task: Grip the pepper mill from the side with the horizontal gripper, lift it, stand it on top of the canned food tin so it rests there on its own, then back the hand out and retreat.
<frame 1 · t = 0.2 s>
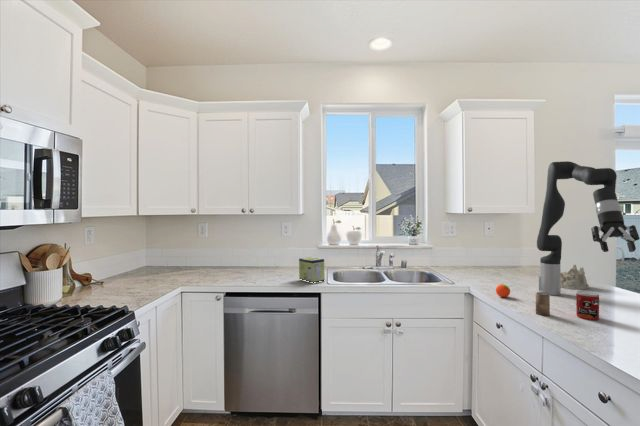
hand: (619, 251, 125), 31 cm above the worktop, tool tilted 20°, fingers open, 8 cm apart
canned food: (587, 318, 140), on the worktop
clementine: (503, 297, 174), on the worktop
beige irregular lump: (570, 287, 196), on the worktop
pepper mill: (542, 314, 145), on the worktop
protein box: (311, 281, 219), on the worktop
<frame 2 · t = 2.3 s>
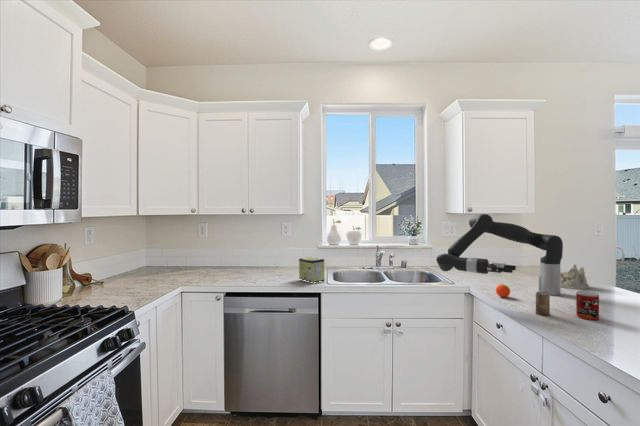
hand: (514, 269, 152), 19 cm above the worktop, tool horizontal, fingers open, 8 cm apart
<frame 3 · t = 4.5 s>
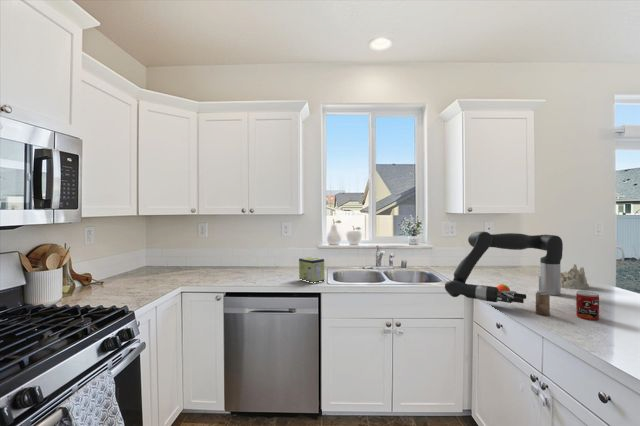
hand: (524, 298, 149), 6 cm above the worktop, tool horizontal, fingers open, 8 cm apart
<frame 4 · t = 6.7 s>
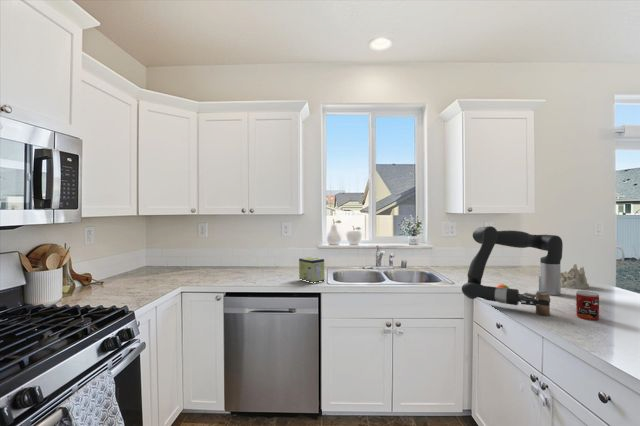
hand: (549, 301, 143), 6 cm above the worktop, tool horizontal, fingers closed on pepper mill, 5 cm apart
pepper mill: (542, 314, 145), on the worktop, touching gripper
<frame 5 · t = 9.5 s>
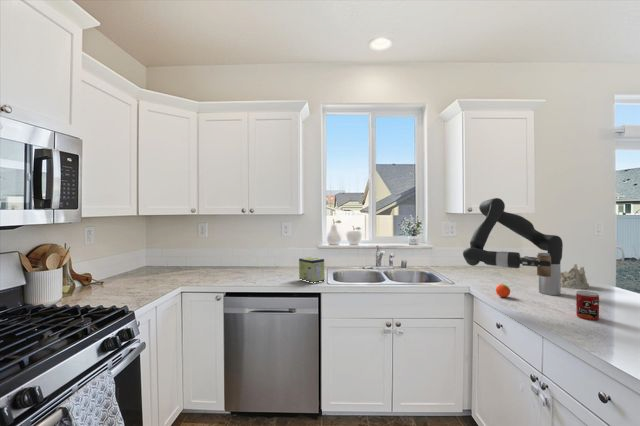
hand: (550, 262, 143), 24 cm above the worktop, tool horizontal, fingers closed on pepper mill, 5 cm apart
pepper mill: (543, 275, 145), point 18 cm above the worktop, touching gripper
when the fingers open (18 cm above the worktop, at t = 12.5 s): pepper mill drops 1 cm, resting on canned food.
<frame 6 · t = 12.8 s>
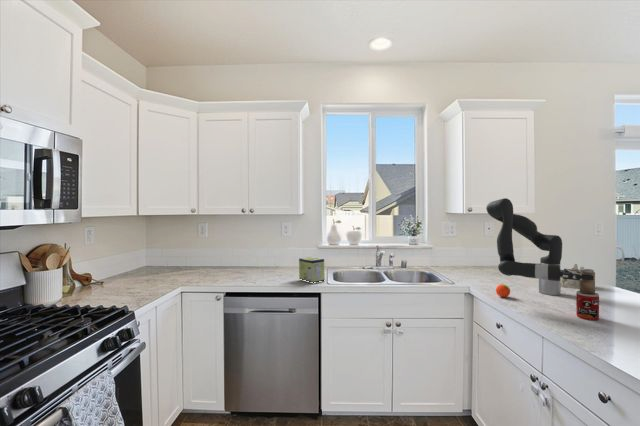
hand: (593, 276, 138), 19 cm above the worktop, tool horizontal, fingers open, 8 cm apart
canned food: (587, 318, 140), on the worktop, touching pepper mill
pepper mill: (587, 292, 140), point 11 cm above the worktop, touching canned food
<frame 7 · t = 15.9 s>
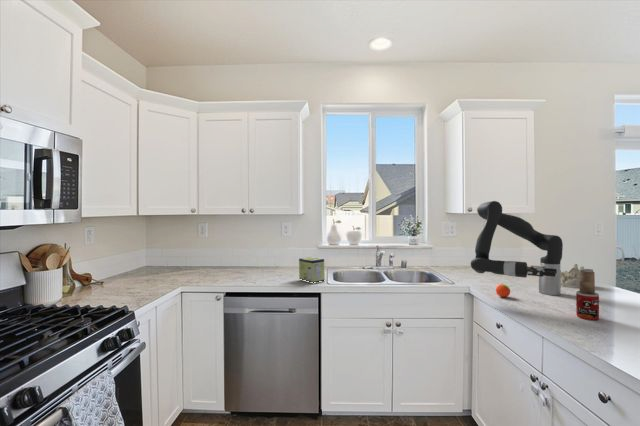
hand: (556, 272, 147), 19 cm above the worktop, tool horizontal, fingers open, 8 cm apart
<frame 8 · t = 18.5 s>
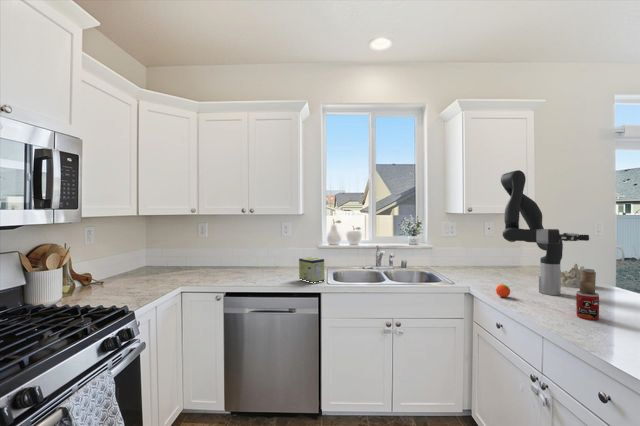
hand: (589, 237, 153), 34 cm above the worktop, tool horizontal, fingers open, 8 cm apart
at the end: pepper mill 0.1 cm from the canned food (horizontally); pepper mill point 11.1 cm above the worktop; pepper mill tilted 2° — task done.
